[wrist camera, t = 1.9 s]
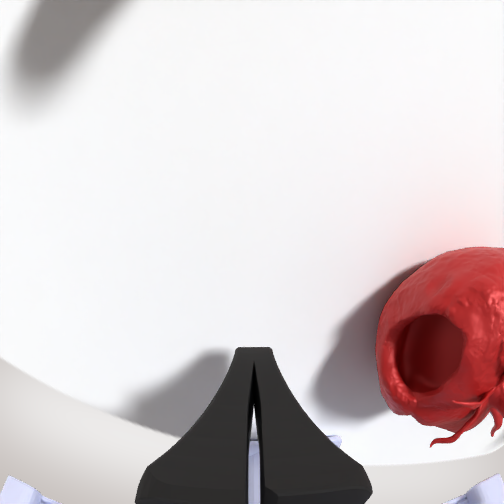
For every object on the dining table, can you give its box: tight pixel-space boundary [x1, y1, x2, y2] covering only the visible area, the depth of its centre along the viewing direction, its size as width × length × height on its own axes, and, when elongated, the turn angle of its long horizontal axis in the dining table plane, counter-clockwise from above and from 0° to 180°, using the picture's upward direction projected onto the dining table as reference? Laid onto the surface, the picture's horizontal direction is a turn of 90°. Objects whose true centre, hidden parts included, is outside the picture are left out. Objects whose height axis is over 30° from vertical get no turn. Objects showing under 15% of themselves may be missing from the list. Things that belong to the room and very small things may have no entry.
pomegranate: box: [375, 247, 504, 448], centre depth 11 cm, size 10×10×9 cm
